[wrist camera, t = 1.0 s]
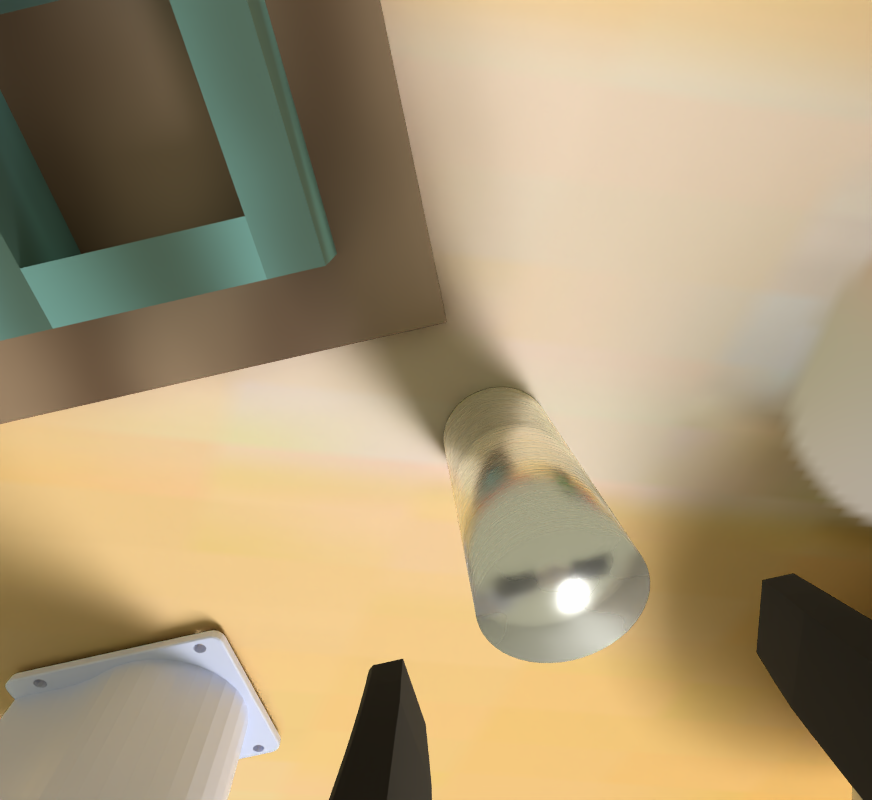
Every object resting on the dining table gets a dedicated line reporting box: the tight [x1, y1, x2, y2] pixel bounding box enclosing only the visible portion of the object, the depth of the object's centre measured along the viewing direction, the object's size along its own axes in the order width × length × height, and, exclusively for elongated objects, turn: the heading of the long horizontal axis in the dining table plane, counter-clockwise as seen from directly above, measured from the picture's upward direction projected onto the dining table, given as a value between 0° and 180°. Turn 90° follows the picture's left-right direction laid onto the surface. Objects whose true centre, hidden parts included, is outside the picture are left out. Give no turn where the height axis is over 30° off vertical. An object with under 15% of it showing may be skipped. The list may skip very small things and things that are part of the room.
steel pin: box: [444, 387, 650, 663], centre depth 15 cm, size 4×4×8 cm
